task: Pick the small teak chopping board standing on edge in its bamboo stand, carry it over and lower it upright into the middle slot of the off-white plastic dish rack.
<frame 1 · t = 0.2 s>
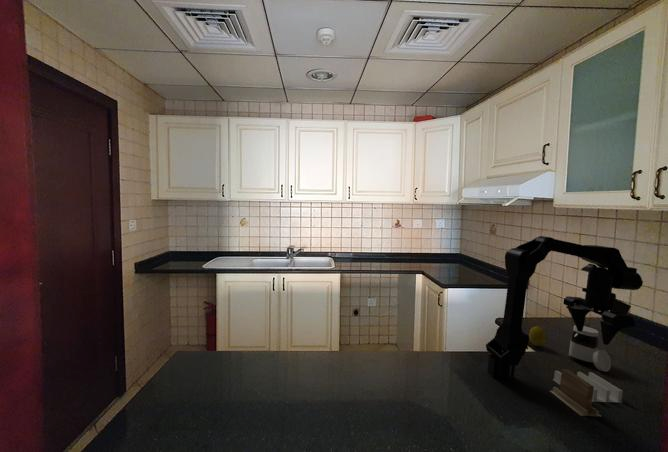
hand: (592, 337, 90), 14 cm above the worktop, fingers open, 9 cm apart
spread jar: (588, 363, 104), on the worktop
lemon: (536, 346, 116), on the worktop
stand: (573, 405, 79), on the worktop
rack: (585, 392, 85), on the worktop
board: (574, 402, 79), point 1 cm above the worktop, touching stand
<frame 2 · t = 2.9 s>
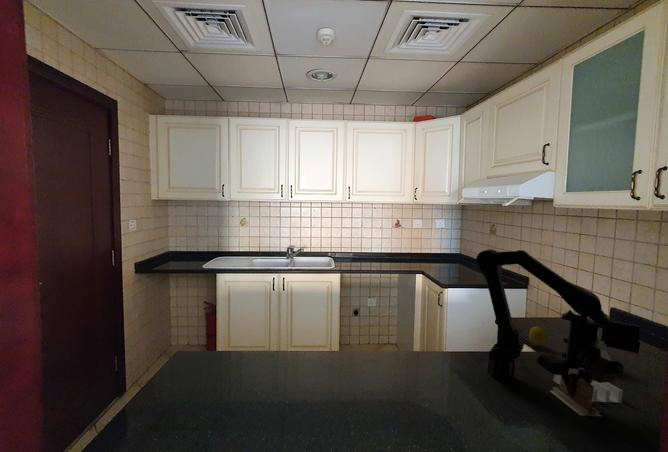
hand: (574, 396, 79), 3 cm above the worktop, fingers closed on board, 2 cm apart
board: (574, 402, 79), point 1 cm above the worktop, touching gripper, stand
everything else where it was.
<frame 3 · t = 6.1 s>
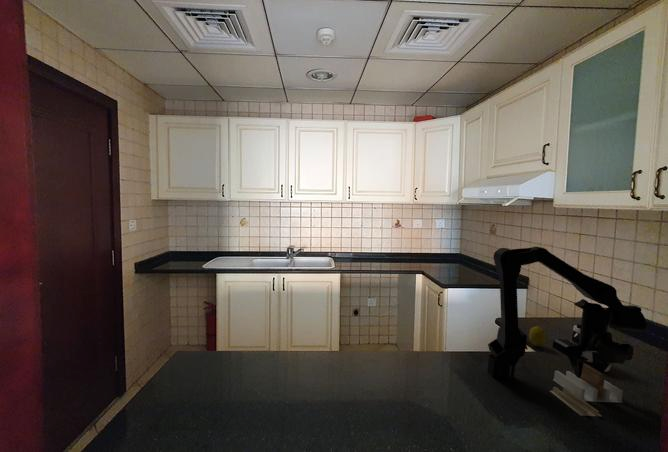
hand: (587, 377, 85), 4 cm above the worktop, fingers open, 5 cm apart
board: (585, 390, 85), point 1 cm above the worktop, touching rack
everything else where it was.
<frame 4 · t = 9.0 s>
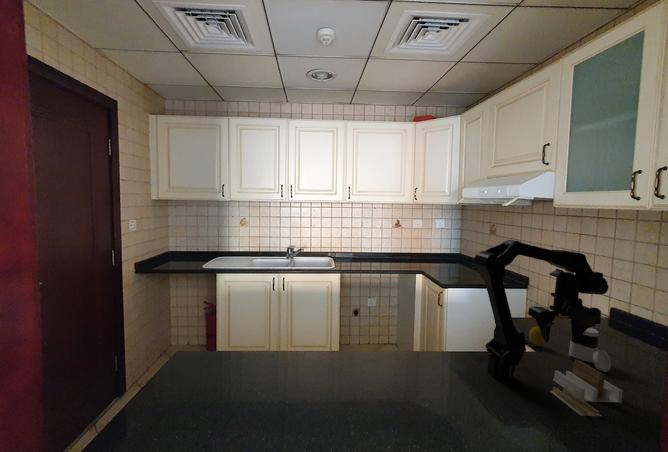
hand: (560, 342, 90), 12 cm above the worktop, fingers open, 9 cm apart
nothing on the worktop moved.
at the end: board 0.1 cm off-centre on the rack, point 0.8 cm above the rack's base; board tilted 0°; the gripper is holding nothing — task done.
